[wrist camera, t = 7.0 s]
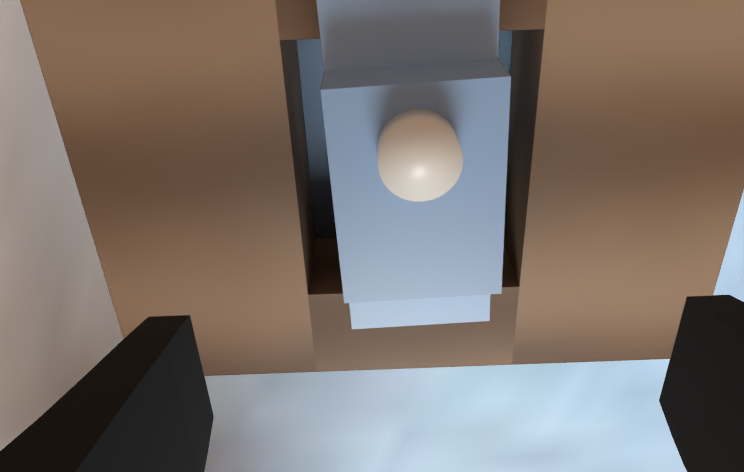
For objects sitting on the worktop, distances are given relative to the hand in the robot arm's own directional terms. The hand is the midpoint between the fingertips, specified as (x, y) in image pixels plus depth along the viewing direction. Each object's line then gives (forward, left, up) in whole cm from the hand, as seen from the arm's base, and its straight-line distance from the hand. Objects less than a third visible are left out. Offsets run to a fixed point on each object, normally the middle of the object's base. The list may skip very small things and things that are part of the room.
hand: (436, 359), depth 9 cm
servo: (0, 0, -10) cm, 10 cm away
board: (0, 0, -9) cm, 9 cm away
